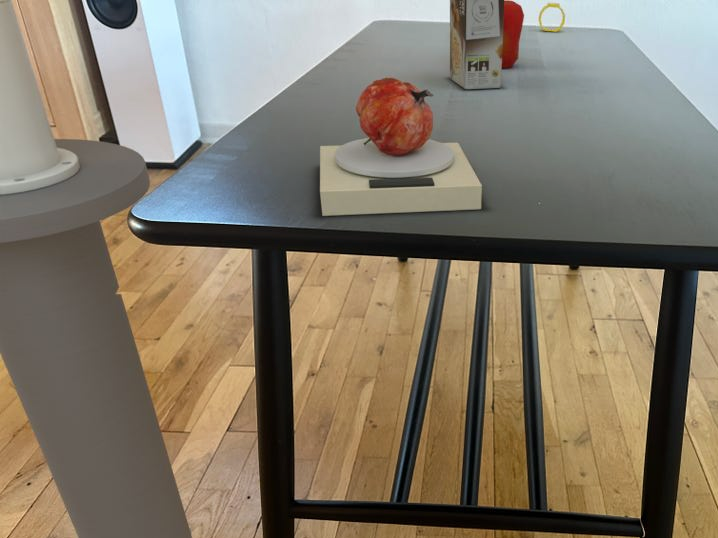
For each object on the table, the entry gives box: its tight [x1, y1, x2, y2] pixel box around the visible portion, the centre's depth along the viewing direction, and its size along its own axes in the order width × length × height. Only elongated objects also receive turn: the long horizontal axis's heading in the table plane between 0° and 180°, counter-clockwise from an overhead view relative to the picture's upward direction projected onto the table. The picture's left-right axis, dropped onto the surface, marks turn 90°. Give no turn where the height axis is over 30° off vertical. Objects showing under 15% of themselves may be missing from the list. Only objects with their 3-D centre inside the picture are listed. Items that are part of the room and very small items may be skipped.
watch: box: [538, 2, 566, 33], centre depth 160 cm, size 6×3×6 cm, turn 92°
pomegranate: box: [355, 77, 434, 156], centre depth 68 cm, size 7×7×10 cm
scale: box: [319, 137, 483, 217], centre depth 70 cm, size 15×14×3 cm
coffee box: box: [449, 0, 505, 90], centre depth 108 cm, size 9×6×16 cm
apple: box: [502, 0, 525, 69], centre depth 122 cm, size 9×8×12 cm
